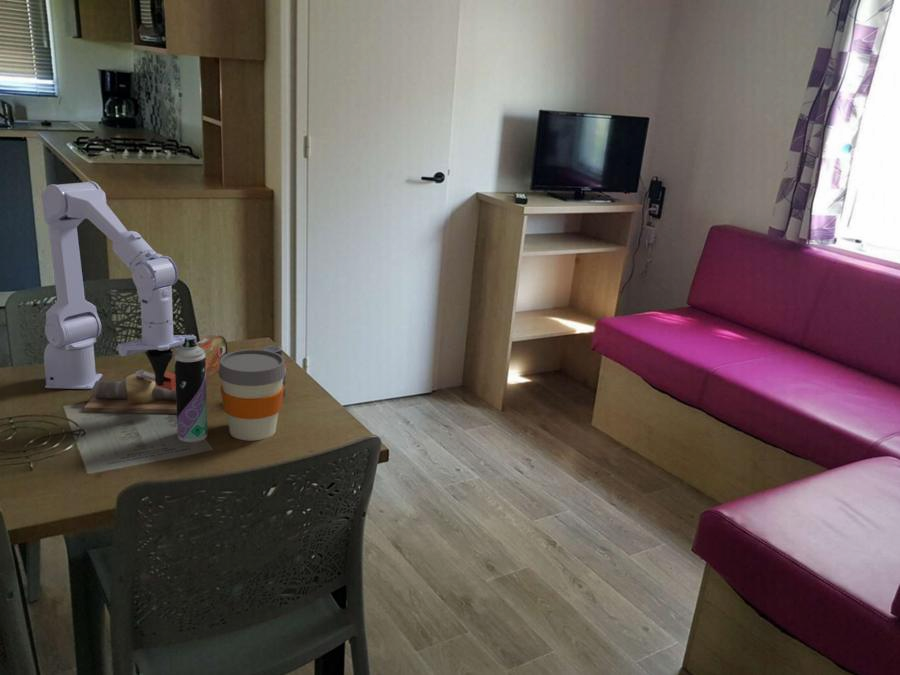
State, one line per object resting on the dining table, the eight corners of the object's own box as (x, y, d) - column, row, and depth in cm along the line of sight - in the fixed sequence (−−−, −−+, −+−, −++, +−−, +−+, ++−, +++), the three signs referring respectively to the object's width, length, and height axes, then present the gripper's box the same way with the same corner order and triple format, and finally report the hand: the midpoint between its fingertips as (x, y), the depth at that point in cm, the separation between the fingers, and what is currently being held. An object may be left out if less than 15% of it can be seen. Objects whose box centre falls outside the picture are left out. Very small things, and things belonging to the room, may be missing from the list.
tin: (194, 386, 170) (193, 351, 167) (182, 384, 171) (180, 349, 168) (229, 364, 184) (228, 331, 181) (217, 362, 185) (216, 329, 182)
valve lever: (133, 378, 158) (132, 366, 157) (141, 375, 159) (141, 363, 159) (171, 390, 153) (171, 378, 153) (179, 387, 155) (179, 375, 155)
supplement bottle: (251, 397, 167) (251, 348, 163) (269, 388, 172) (269, 341, 168) (273, 404, 164) (273, 355, 161) (291, 395, 170) (291, 347, 166)
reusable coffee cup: (211, 423, 153) (209, 354, 148) (270, 412, 160) (270, 345, 156) (233, 450, 144) (232, 376, 139) (295, 436, 151) (296, 366, 146)
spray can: (180, 444, 144) (176, 345, 138) (175, 432, 149) (171, 335, 142) (210, 440, 147) (207, 342, 140) (204, 428, 151) (201, 333, 145)
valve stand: (84, 411, 154) (82, 386, 152) (99, 392, 163) (98, 367, 161) (187, 413, 157) (186, 388, 155) (196, 394, 166) (195, 370, 164)
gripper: (123, 330, 142) (127, 397, 146) (201, 321, 150) (202, 384, 154) (113, 319, 147) (117, 384, 151) (189, 311, 155) (191, 372, 160)
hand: (159, 383), depth 153 cm, fingers closed, pressing on valve lever
